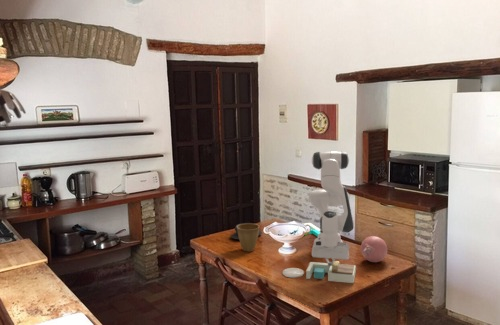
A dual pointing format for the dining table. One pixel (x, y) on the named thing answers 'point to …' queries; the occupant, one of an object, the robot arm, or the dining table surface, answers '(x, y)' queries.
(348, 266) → the lid
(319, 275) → the block
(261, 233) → the casserole
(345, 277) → the board
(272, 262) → the dining table surface
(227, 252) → the dining table surface
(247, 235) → the plant pot
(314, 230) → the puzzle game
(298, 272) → the plate
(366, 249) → the pink round piece
